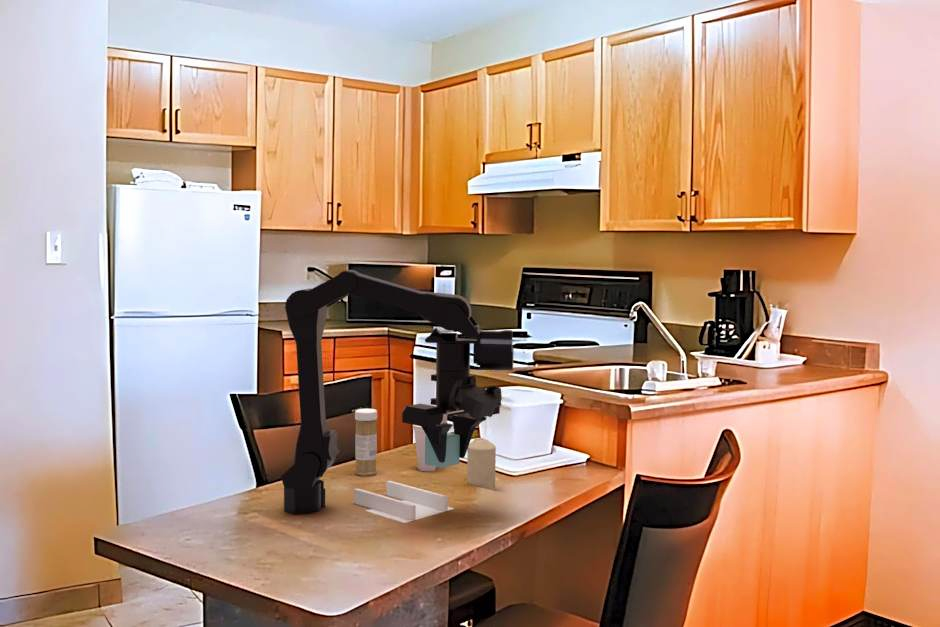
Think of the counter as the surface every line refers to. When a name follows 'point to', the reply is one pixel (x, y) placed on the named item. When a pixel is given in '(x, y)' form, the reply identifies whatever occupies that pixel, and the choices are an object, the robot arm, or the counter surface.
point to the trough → (402, 502)
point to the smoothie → (421, 449)
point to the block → (451, 452)
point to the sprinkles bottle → (366, 442)
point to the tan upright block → (481, 463)
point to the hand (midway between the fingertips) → (451, 459)
